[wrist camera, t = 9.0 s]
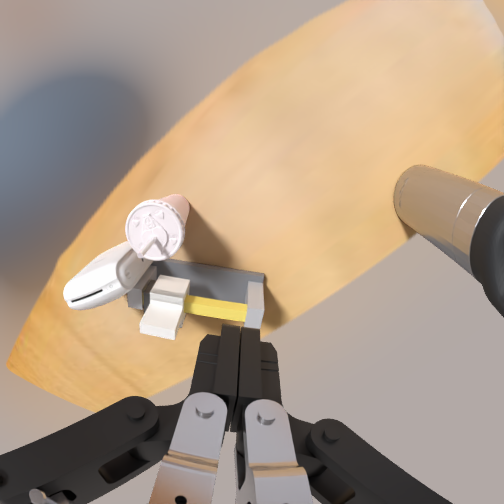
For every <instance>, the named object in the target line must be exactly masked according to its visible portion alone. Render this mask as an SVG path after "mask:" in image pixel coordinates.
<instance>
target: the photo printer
mask: <svg viewBox="0 0 504 504" xmlns="http://www.w3.org/2000/svg"><path fill="white" fill-rule="evenodd" d="M152 262H153V260H148V259H146V258H144V257H143V258H138V256H137V253H136V252H135V251H134V250H133V248H132V247H131V246H130V244H129V242H128V241H126V242H123V243H121V244H119V245H117V246H115V247H113V248H111V249H109V250H107V251H105V252H103V253H101V254H100V255H98V256H97V257H96V258H95V259H94V260H92V261H91V262H90V263H89V264H88V265H87V266H86V267H84V268H83V269H82V270H81V271H80V272H79V273H78V274H77V275H75V276H74V277H73V278H72V279H71V280H70V281H69V282H68V283H67V284H66V286H65V288H64V299H65V300H66V302H67V303H68V306H69V307H70V308H71V309H74V310H86V309H91V308H95V307H98V306H101V305H104V304H107V303H109V302H111V301H114V300H116V299H118V298H120V297H121V296H123V295H125V294H126V293H128V292H129V291H130V290H131V289H133V287H134V286H135V285H136V283H137V282H138V281H139V279H140V278H141V276H142V275H143V274H144V273H145V271H146V270H147V269H148V267H149V266H150V265H151V263H152Z"/></svg>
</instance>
